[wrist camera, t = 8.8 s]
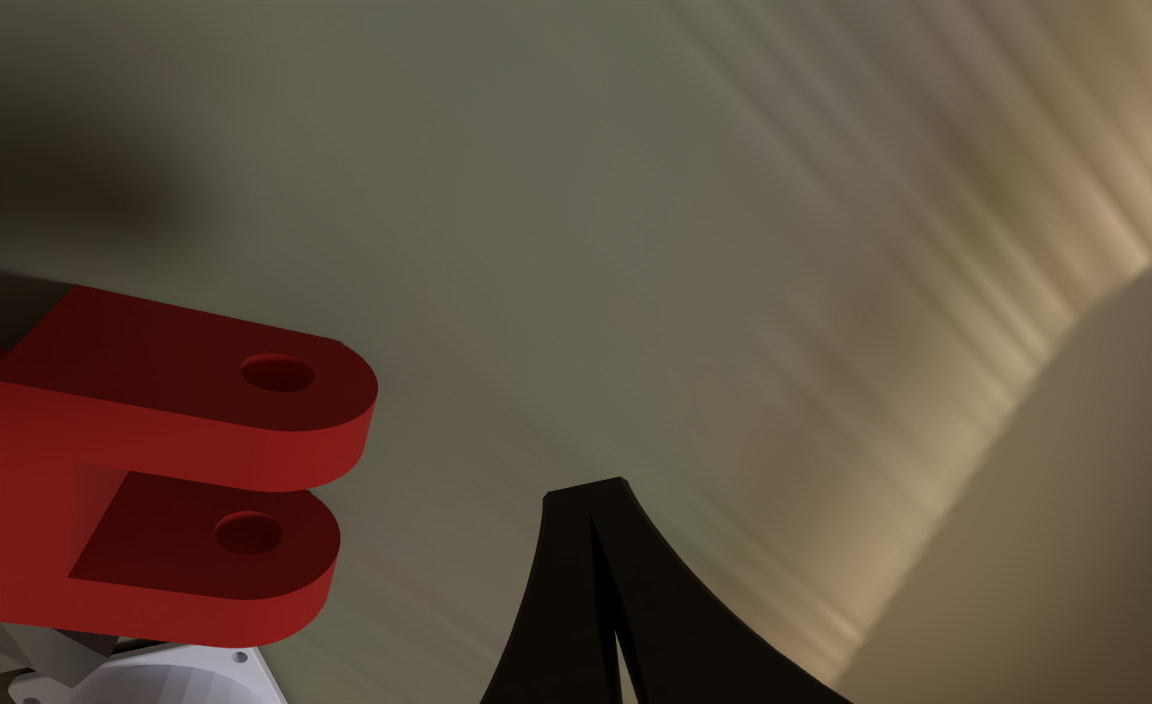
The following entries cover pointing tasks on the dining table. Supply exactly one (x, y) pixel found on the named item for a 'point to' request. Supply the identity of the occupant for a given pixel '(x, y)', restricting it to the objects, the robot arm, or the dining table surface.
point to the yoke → (54, 651)
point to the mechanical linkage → (172, 471)
